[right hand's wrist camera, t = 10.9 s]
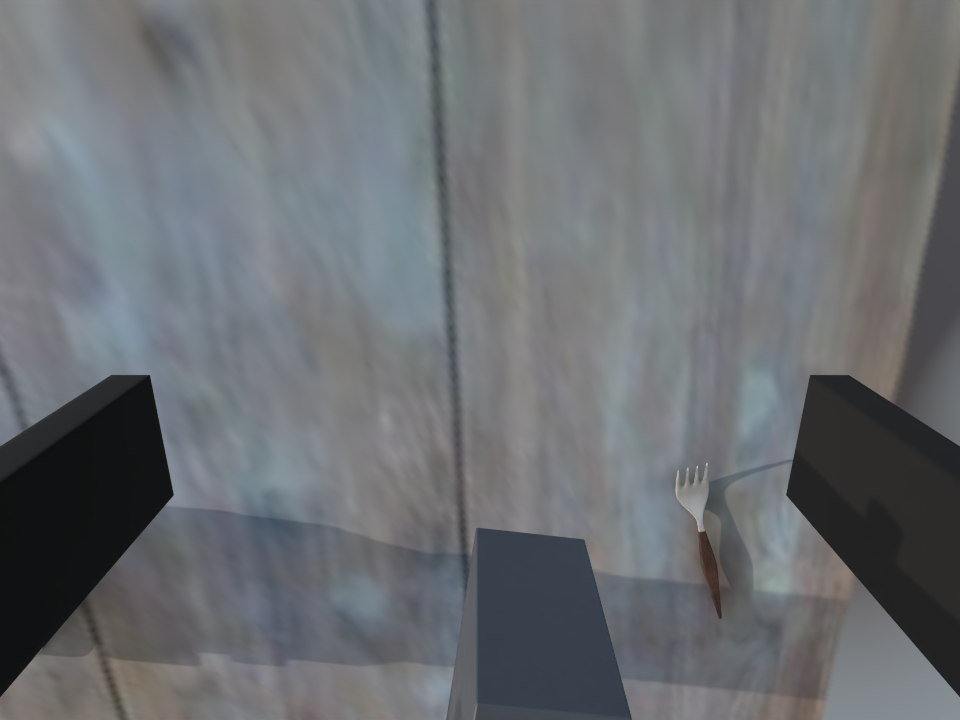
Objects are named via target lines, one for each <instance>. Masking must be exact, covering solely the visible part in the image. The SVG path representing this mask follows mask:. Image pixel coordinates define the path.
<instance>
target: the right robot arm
mask: <svg viewBox="0 0 960 720" xmlns="http://www.w3.org/2000/svg"><path fill="white" fill-rule="evenodd" d="M173 495H174V494H173V489H172V484H171V479H170V474H169V469H168V464H167V459H166V454H165V449H164V444H163V439H162V434H161V429H160V424H159V419H158V414H157V409H156V404H155V399H154V394H153V389H152V384H151V379H150V375H111V376H109V377H108V378H106V379H105V380H103V381H101V382H100V383H98V384H97V385H95V386H94V387H92V388H91V389H89V390H87V391H86V392H84V393H83V394H81V395H80V396H78V397H77V398H75V399H73V400H72V401H70V402H69V403H67V404H66V405H64V406H63V407H61V408H59V409H58V410H56V411H55V412H53V413H52V414H50V415H49V416H47V417H45V418H44V419H42V420H41V421H39V422H38V423H36V424H35V425H33V426H31V427H30V428H28V429H27V430H25V431H24V432H22V433H21V434H19V435H17V436H16V437H14V438H13V439H11V440H10V441H8V442H6V443H5V444H3V445H2V446H0V697H1V695H2V694H3V693H4V692H5V691H6V690H7V689H8V687H9V686H10V685H11V684H12V683H13V682H14V680H15V679H16V678H17V677H18V676H19V675H20V673H21V672H22V671H23V670H24V669H25V668H26V666H27V665H28V664H29V663H30V662H31V661H32V659H33V658H34V657H35V656H36V655H37V654H38V652H39V651H40V650H41V649H42V648H43V647H44V645H45V644H46V643H47V642H48V641H49V640H50V638H51V637H52V636H53V635H54V634H55V633H56V631H57V630H58V629H59V628H60V627H61V626H62V624H63V623H64V622H65V621H66V620H67V619H68V618H69V616H70V615H71V614H72V613H73V612H74V611H75V609H76V608H77V607H78V606H79V605H80V604H81V602H82V601H83V600H84V599H85V598H86V597H87V595H88V594H89V593H90V592H91V591H92V590H93V588H94V587H95V586H96V585H97V584H98V583H99V581H100V580H101V579H102V578H103V577H104V576H105V574H106V573H107V572H108V571H109V570H110V569H111V567H112V566H113V565H114V564H115V563H116V562H117V560H118V559H119V558H120V557H121V556H122V555H123V553H124V552H125V551H126V550H127V549H128V548H129V546H130V545H131V544H132V543H133V542H134V541H135V540H136V538H137V537H138V536H139V535H140V534H141V533H142V531H143V530H144V529H145V528H146V527H147V526H148V524H149V523H150V522H151V521H152V520H153V519H154V517H155V516H156V515H157V514H158V513H159V512H160V510H161V509H162V508H163V507H164V506H165V505H166V503H167V502H168V501H169V500H170V499H171V498H172V496H173ZM786 495H787V496H788V498H789V499H790V500H791V501H792V502H793V503H794V505H795V506H796V507H797V508H798V509H799V510H800V512H801V513H802V514H803V515H804V516H805V517H806V519H807V520H808V521H809V522H810V523H811V524H812V526H813V527H814V528H815V529H816V530H817V531H818V533H819V534H820V535H821V536H822V537H823V538H824V540H825V541H826V542H827V543H828V544H829V545H830V546H831V548H832V549H833V550H834V551H835V552H836V553H837V555H838V556H839V557H840V558H841V559H842V560H843V562H844V563H845V564H846V565H847V566H848V567H849V569H850V570H851V571H852V572H853V573H854V574H855V576H856V577H857V578H858V579H859V580H860V581H861V583H862V584H863V585H864V586H865V587H866V588H867V590H868V591H869V592H870V593H871V594H872V595H873V597H874V598H875V599H876V600H877V601H878V602H879V604H880V605H881V606H882V607H883V608H884V609H885V611H886V612H887V613H888V614H889V615H890V616H891V618H892V619H893V620H894V621H895V622H896V623H897V624H898V626H899V627H900V628H901V629H902V630H903V631H904V633H905V634H906V635H907V636H908V637H909V638H910V640H911V641H912V642H913V643H914V644H915V645H916V647H917V648H918V649H919V650H920V651H921V652H922V654H923V655H924V656H925V657H926V658H927V659H928V661H929V662H930V663H931V664H932V665H933V666H934V668H935V669H936V670H937V671H938V672H939V673H940V674H941V676H942V677H943V678H944V679H945V680H946V681H947V683H948V684H949V685H950V686H951V687H952V689H953V690H954V691H955V692H956V693H957V694H958V695H959V697H960V446H958V445H957V444H955V443H954V442H952V441H950V440H949V439H947V438H946V437H944V436H943V435H941V434H939V433H938V432H936V431H935V430H933V429H932V428H930V427H929V426H927V425H925V424H924V423H922V422H921V421H919V420H918V419H916V418H915V417H913V416H911V415H910V414H908V413H907V412H905V411H904V410H902V409H901V408H899V407H897V406H896V405H894V404H893V403H891V402H890V401H888V400H887V399H885V398H883V397H882V396H880V395H879V394H877V393H876V392H874V391H873V390H871V389H869V388H868V387H866V386H865V385H863V384H862V383H860V382H859V381H857V380H855V379H854V378H852V377H851V376H849V375H810V379H809V384H808V389H807V394H806V399H805V404H804V409H803V414H802V419H801V424H800V429H799V434H798V439H797V444H796V449H795V454H794V459H793V464H792V469H791V474H790V479H789V484H788V489H787V494H786Z"/></svg>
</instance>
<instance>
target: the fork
mask: <svg viewBox="0 0 960 720" xmlns="http://www.w3.org/2000/svg"><path fill="white" fill-rule="evenodd" d="M708 495H709V480H708V463H706V467H705V472H704V478H703V480H702V481H699V472H698V465H697V467H696V472H695V478H694V482H693V483H692V484H691V483H690V480H689V469H688V468H687V472H686V478H685V484H684V486H681V484H680V475H679V470H678V472H677V479H676V497H677V499H678V500H679V502H680V503H681V504H682V505H683V506H684V507H685V508H686V509H687V510H688V511H689V512H690V513H691V514H692V515H693V516H694V517H695V519H696V520H697V523H698V531H699V547H700V558H701V565H702V569H703V572H704V575H705V578H706V581H707V583H708V586H709V589H710V592H711V595H712V598H713V601H714V604H715V607H716V610H717V613H718V616H719V619H721V618H722V616H721V605H720V595H719V582H718V571H717V565H716V561H715V557H714V554H713V551H712V549H711V546H710V543H709V540H708V537H707V535H706V532H705V529H704V525H703V520H702V519H703V512H704V509H705V505H706V502H707V499H708Z"/></svg>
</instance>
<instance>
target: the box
mask: <svg viewBox="0 0 960 720" xmlns="http://www.w3.org/2000/svg"><path fill="white" fill-rule="evenodd" d="M446 720H632V718H631V714H630V711H629V707H628V703H627V699H626V696H625V692H624V688H623V684H622V680H621V677H620V673H619V669H618V665H617V662H616V658H615V654H614V650H613V646H612V643H611V639H610V635H609V631H608V628H607V624H606V620H605V616H604V613H603V609H602V605H601V601H600V597H599V594H598V590H597V586H596V582H595V579H594V575H593V571H592V567H591V563H590V560H589V556H588V552H587V548H586V545H585V541H584V540H583V539H575V538H565V537H556V536H547V535H538V534H529V533H520V532H511V531H502V530H493V529H484V528H477V529H476V533H475V539H474V546H473V552H472V559H471V565H470V571H469V578H468V584H467V591H466V597H465V603H464V610H463V616H462V623H461V629H460V636H459V642H458V648H457V655H456V661H455V668H454V674H453V680H452V687H451V693H450V700H449V706H448V713H447V719H446Z"/></svg>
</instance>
